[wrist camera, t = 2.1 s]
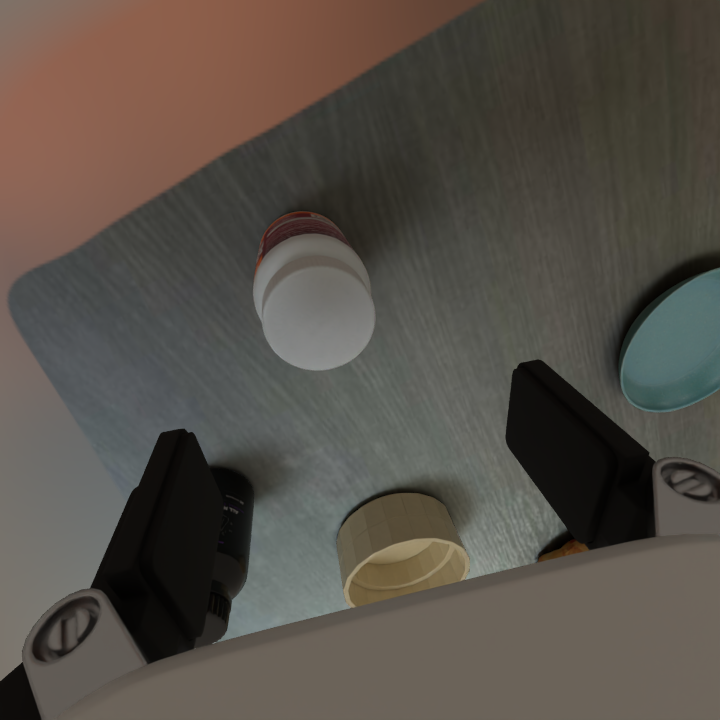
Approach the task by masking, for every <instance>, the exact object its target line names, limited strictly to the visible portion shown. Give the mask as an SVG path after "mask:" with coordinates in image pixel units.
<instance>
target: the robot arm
mask: <svg viewBox="0 0 720 720" xmlns="http://www.w3.org/2000/svg"><path fill="white" fill-rule="evenodd" d="M506 443H507V445H508V447H509V449H510V450H511V452H512V453H513V454H514V456H515V457H516V459H517V460H518V461H519V463H520V464H521V465H522V467H523V468H524V470H525V471H526V472H527V474H528V475H529V476H530V478H531V479H532V481H533V482H534V483H535V485H536V486H537V487H538V489H539V490H540V491H541V493H542V494H543V496H544V497H545V498H546V500H547V501H548V502H549V504H550V505H551V507H552V508H553V509H554V511H555V512H556V513H557V515H558V516H559V518H560V519H561V520H562V522H563V523H564V524H565V526H566V527H567V528H568V530H569V531H570V533H571V534H572V535H573V537H574V538H575V539H576V540H577V541H578V542H579V543H581V544H585V545H586V547H587V548H588V549H589V551H585V552H580V553H576V554H571V555H567V556H563V557H559V558H555V559H551V560H546V561H542V562H538V563H534V564H530V565H526V566H521V567H517V568H513V569H509V570H505V571H500V572H496V573H492V574H488V575H484V576H480V577H476V578H472V579H467V580H463V581H459V582H455V583H451V584H447V585H443V586H439V587H435V588H431V589H427V590H423V591H418V592H414V593H410V594H406V595H402V596H398V597H394V598H390V599H386V600H382V601H378V602H374V603H370V604H366V605H362V606H358V607H354V608H350V609H346V610H342V611H338V612H334V613H330V614H326V615H322V616H318V617H314V618H310V619H306V620H302V621H298V622H294V623H290V624H286V625H282V626H278V627H274V628H270V629H266V630H262V631H259V632H255V633H251V634H248V635H244V636H240V637H236V638H233V639H229V640H225V641H222V642H218V643H214V644H211V645H207V646H203V647H199V648H196V649H194V647H195V642H196V638H198V637H201V636H202V634H203V632H204V627H205V621H206V614H207V608H208V602H209V596H210V590H211V583H212V577H213V571H214V565H215V558H216V552H217V546H218V540H219V534H220V527H221V521H222V515H223V499H222V495H221V493H220V491H219V489H218V486H217V484H216V482H215V480H214V477H213V475H212V473H211V471H210V468H209V466H208V464H207V461H206V459H205V457H204V455H203V452H202V450H201V448H200V446H199V443H198V441H197V439H196V436H195V435H194V433H193V432H190V433H188V432H187V431H186V430H185V429H178V430H172V431H167V432H163V433H161V434H160V436H159V438H158V440H157V443H156V445H155V447H154V450H153V452H152V455H151V457H150V459H149V462H148V464H147V467H146V469H145V471H144V474H143V476H142V479H141V481H140V483H139V486H138V487H136V488H135V489H134V490H133V491H132V493H131V494H130V497H129V499H128V501H127V504H126V506H125V508H124V511H123V513H122V515H121V518H120V520H119V522H118V525H117V527H116V529H115V531H114V534H113V536H112V538H111V541H110V543H109V545H108V548H107V550H106V553H105V555H104V557H103V560H102V562H101V564H100V566H99V569H98V571H97V574H96V576H95V578H94V581H93V583H92V585H91V588H90V589H83V590H79V591H77V592H74V593H72V594H70V595H68V596H66V597H65V598H63V599H61V600H60V601H58V602H57V603H55V604H54V605H53V606H52V607H51V608H50V609H49V610H47V611H46V612H45V613H44V614H43V615H42V616H41V618H40V619H39V620H38V621H37V623H36V624H35V625H34V626H33V628H32V630H31V631H30V633H29V635H28V636H27V638H26V640H25V644H24V647H23V650H22V660H23V662H22V663H21V664H20V665H19V666H18V667H16V668H15V669H14V670H13V671H12V672H11V673H9V674H8V675H7V676H6V677H5V678H4V679H3V680H2V681H0V720H720V473H718V472H717V471H715V470H714V469H712V468H710V467H708V466H706V465H704V464H702V463H700V462H697V461H694V460H691V459H687V458H680V457H666V458H663V459H659V460H658V461H657V462H655V461H654V460H653V459H652V458H651V457H650V456H648V455H649V452H648V451H647V450H646V449H645V448H644V447H642V446H641V445H640V444H639V443H638V442H637V441H635V440H634V439H633V438H632V437H631V436H630V435H628V434H627V433H626V432H625V431H624V430H623V429H621V428H620V427H619V426H618V425H617V424H616V423H614V422H613V421H612V420H611V419H610V418H608V417H607V416H606V415H605V414H604V413H603V412H601V411H600V410H599V409H598V408H597V407H596V406H594V405H593V404H592V403H591V402H590V401H589V400H587V399H586V398H585V397H584V396H583V395H582V394H580V393H579V392H578V391H577V390H576V389H575V388H573V387H572V386H571V385H570V384H569V383H568V382H566V381H565V380H564V379H563V378H562V377H561V376H559V375H558V374H557V373H556V372H555V371H554V370H552V369H551V368H550V367H549V366H548V365H547V364H545V363H544V362H543V361H541V360H533V361H528V362H523V363H520V364H519V365H518V367H517V369H514V371H513V374H512V383H511V392H510V401H509V410H508V418H507V427H506Z"/></svg>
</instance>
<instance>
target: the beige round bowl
mask: <svg viewBox="0 0 720 720" xmlns="http://www.w3.org/2000/svg"><path fill="white" fill-rule="evenodd" d="M336 544H337V551H338V558H339V565H340V573H341V579H342V586H343V593H344V597H345V600H346V603H347V604H348V605H349V606H350V607H351V608H354V607H358V606H362V605H366V604H370V603H374V602H378V601H382V600H386V599H390V598H394V597H398V596H402V595H406V594H410V593H414V592H418V591H423V590H427V589H431V588H435V587H439V586H443V585H447V584H451V583H455V582H459V581H463V580H465V578H466V576H467V574H468V573H469V567H470V558H469V556H468V554H467V552H466V549H465V547H464V545H463V543H462V541H461V538H460V536H459V534H458V532H457V530H456V527H455V525H454V523H453V521H452V519H451V516H450V514H449V513H448V511H447V509H446V507H445V505H444V504H442V503H441V502H439V501H438V500H437V499H435V498H433V497H430V496H427V495H423V494H419V493H396V494H391V495H387V496H383V497H380V498H377V499H375V500H373V501H371V502H369V503H367V504H365V505H364V506H362V507H361V508H359V509H358V510H357V511H356V512H355V513H353V514H352V515H351V516H349V517H348V519H347V520H346V521H345V523H344V524H343V526H342V527H341V528H340V530H339V533H338V537H337V541H336Z"/></svg>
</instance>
